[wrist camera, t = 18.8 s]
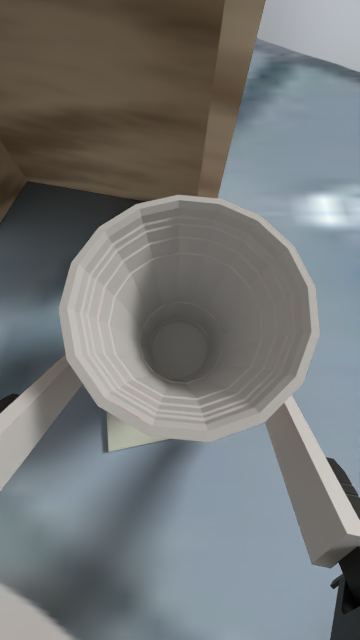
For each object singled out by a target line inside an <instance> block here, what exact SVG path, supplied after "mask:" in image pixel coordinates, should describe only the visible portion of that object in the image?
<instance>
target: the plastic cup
mask: <svg viewBox="0 0 360 640" xmlns="http://www.w3.org/2000/svg"><path fill="white" fill-rule="evenodd" d="M59 315H60V321H61V328H62V334H63V340H64V347H65V353H66V359H67V361H68V363H69V364H70V366H71V367H72V369H73V370H74V371H75V373H76V374H77V376H78V377H79V379H80V380H81V382H82V383H83V385H84V386H85V388H86V389H87V391H88V392H89V394H90V395H91V397H92V398H93V400H94V401H95V403H96V404H97V405H98V406H99V407H100V408H102V409H104V410H105V411H107V412H109V413H110V414H112V415H114V416H116V417H117V418H119V419H121V420H122V421H124V422H126V423H127V424H129V425H131V426H132V427H134V428H136V429H137V430H139V431H141V432H142V433H144V434H146V435H147V436H150V437H160V438H170V439H181V440H191V441H201V442H212V441H214V440H217V439H220V438H223V437H226V436H228V435H231V434H234V433H237V432H239V431H242V430H245V429H248V428H250V427H253V426H256V425H259V424H262V423H264V422H266V421H267V420H268V419H269V418H270V417H271V416H272V414H273V413H274V412H275V411H276V410H277V409H278V408H279V407H280V406H281V405H282V404H283V403H284V402H285V401H286V400H287V399H288V398H289V397H290V396H291V395H292V394H293V393H294V392H295V391H296V390H297V389H298V388H299V387H300V386H301V385H302V384H303V383H304V380H305V377H306V374H307V371H308V368H309V365H310V362H311V359H312V356H313V353H314V350H315V347H316V344H317V341H318V338H319V336H320V331H319V320H318V310H317V299H316V289H315V285H314V283H313V281H312V279H311V278H310V276H309V274H308V272H307V270H306V268H305V266H304V264H303V262H302V260H301V258H300V257H299V255H298V253H297V251H296V249H295V247H294V246H293V245H292V244H291V243H290V242H289V241H288V240H287V239H286V238H285V237H283V236H282V235H281V234H280V233H279V232H278V231H277V230H276V229H275V228H273V227H272V226H271V225H270V224H269V223H268V222H267V221H266V220H265V219H264V218H262V217H261V216H259V215H257V214H255V213H252V212H250V211H248V210H246V209H243V208H241V207H239V206H236V205H234V204H232V203H230V202H227V201H225V200H223V199H217V198H207V197H197V196H186V195H175V196H170V197H166V198H161V199H157V200H152V201H148V202H143V203H139V204H135V205H134V206H132V207H131V208H129V209H127V210H126V211H124V212H122V213H121V214H119V215H118V216H116V217H114V218H113V219H111V220H109V221H108V222H106V223H105V224H103V225H101V226H100V227H98V229H97V230H96V231H95V233H94V234H93V235H92V236H91V238H90V239H89V240H88V242H87V243H86V244H85V246H84V247H83V248H82V249H81V251H80V252H79V253H78V255H77V256H76V257H75V258H74V260H73V261H72V262H71V265H70V269H69V272H68V276H67V280H66V283H65V287H64V291H63V294H62V298H61V302H60V305H59Z"/></svg>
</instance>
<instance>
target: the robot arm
mask: <svg viewBox="0 0 360 640" xmlns="http://www.w3.org/2000/svg"><path fill="white" fill-rule="evenodd" d="M82 384H83V383H82V382H81V380H80V379H79V377H78V376H77V374H76V373H75V371H74V370H73V369H72V367H71V366H70V364H69V363H68V361H67V359H66V354H65V355H64V356H63V357H62V358H61V359H59V360H58V361H57V362H56V363H55V364H54V365H53V366H52V367H51V368H50V369H48V370H47V371H46V372H45V373H44V374H43V375H42V376H41V377H40V378H39V379H38V380H36V381H35V382H34V383H33V384H32V385H31V386H30V387H29V388H28V389H27V390H25V391H24V392H23V393H22V394H21V395H17V394H11V395H9V396H7V397H5V398H3V399H2V400H0V491H1V490H2V488H3V487H4V486H5V485H6V483H7V482H8V481H9V479H10V478H11V477H12V475H13V474H14V473H15V472H16V470H17V469H18V468H19V466H20V465H21V464H22V462H23V461H24V460H25V459H26V457H27V456H28V455H29V453H30V452H31V451H32V449H33V448H34V447H35V446H36V444H37V443H38V442H39V440H40V439H41V438H42V436H43V435H44V434H45V433H46V431H47V430H48V429H49V427H50V426H51V425H52V423H53V422H54V421H55V420H56V418H57V417H58V416H59V414H60V413H61V412H62V410H63V409H64V408H65V407H66V405H67V404H68V403H69V401H70V400H71V399H72V397H73V396H74V395H75V394H76V392H77V391H78V390H79V388H80V387H81V386H82ZM265 423H266V427H267V430H268V433H269V436H270V439H271V442H272V445H273V448H274V451H275V454H276V457H277V460H278V463H279V466H280V469H281V472H282V475H283V478H284V481H285V484H286V487H287V490H288V493H289V496H290V500H291V503H292V506H293V509H294V512H295V515H296V518H297V521H298V524H299V527H300V530H301V533H302V536H303V539H304V542H305V545H306V548H307V551H308V554H309V557H310V560H311V563H312V564H313V565H318V566H322V567H327V568H332V567H333V566H334V565H336V564H337V563H338V562H339V565H340V567H341V570H342V572H343V574H342V575H340V576H339V577H337V578H336V579H335V580H333V581H332V583H331V585H330V586H331V587H332V588H333V589H335V588H336V587H337V586H339V588H338V594H337V600H336V607H335V613H334V619H333V626H332V632H331V638H330V640H360V498H359V497H358V494H357V492H356V490H355V489H354V487H353V486H352V484H351V482H350V480H349V479H348V477H347V475H346V473H345V472H344V470H343V469H342V468H341V467H340V466H339V465H338V464H337V462H336V461H335V460H334V459H331V458H327V457H325V456H324V454H323V452H322V450H321V448H320V446H319V445H318V443H317V441H316V439H315V437H314V435H313V433H312V432H311V430H310V428H309V426H308V424H307V422H306V421H305V419H304V417H303V415H302V413H301V411H300V410H299V408H298V406H297V404H296V402H295V400H294V398H293V397H292V395H291V396H290V397H289V398H288V399H287V400H286V401H285V402H284V403H283V404H282V405H281V406H280V407H279V408H278V409H277V410H276V411H275V412H274V413H273V414H272V416H271V417H270V418H269V419H268V420H267V421H266V422H265Z"/></svg>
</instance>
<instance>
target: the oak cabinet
mask: <svg viewBox="0 0 360 640" xmlns="http://www.w3.org/2000/svg"><path fill="white" fill-rule="evenodd" d="M265 1H266V0H0V223H1V222H2V220H3V218H4V217H5V215H6V214H7V212H8V211H9V209H10V208H11V206H12V204H13V203H14V201H15V200H16V198H17V197H18V195H19V193H20V192H21V190H22V189H23V187H24V186H25V184H26V182H27V181H31V182H37V183H43V184H48V185H54V186H60V187H66V188H71V189H77V190H83V191H88V192H94V193H100V194H106V195H111V196H117V197H123V198H129V199H134V200H140V201H146V202H148V201H152V200H157V199H161V198H166V197H170V196H175V195H186V196H197V197H207V198H217V197H218V193H219V189H220V185H221V181H222V177H223V173H224V169H225V165H226V161H227V156H228V152H229V148H230V144H231V140H232V136H233V132H234V128H235V124H236V120H237V115H238V111H239V107H240V103H241V99H242V95H243V91H244V87H245V83H246V79H247V74H248V70H249V66H250V62H251V58H252V54H253V50H254V46H255V42H256V38H257V33H258V29H259V25H260V21H261V17H262V13H263V9H264V4H265Z"/></svg>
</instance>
